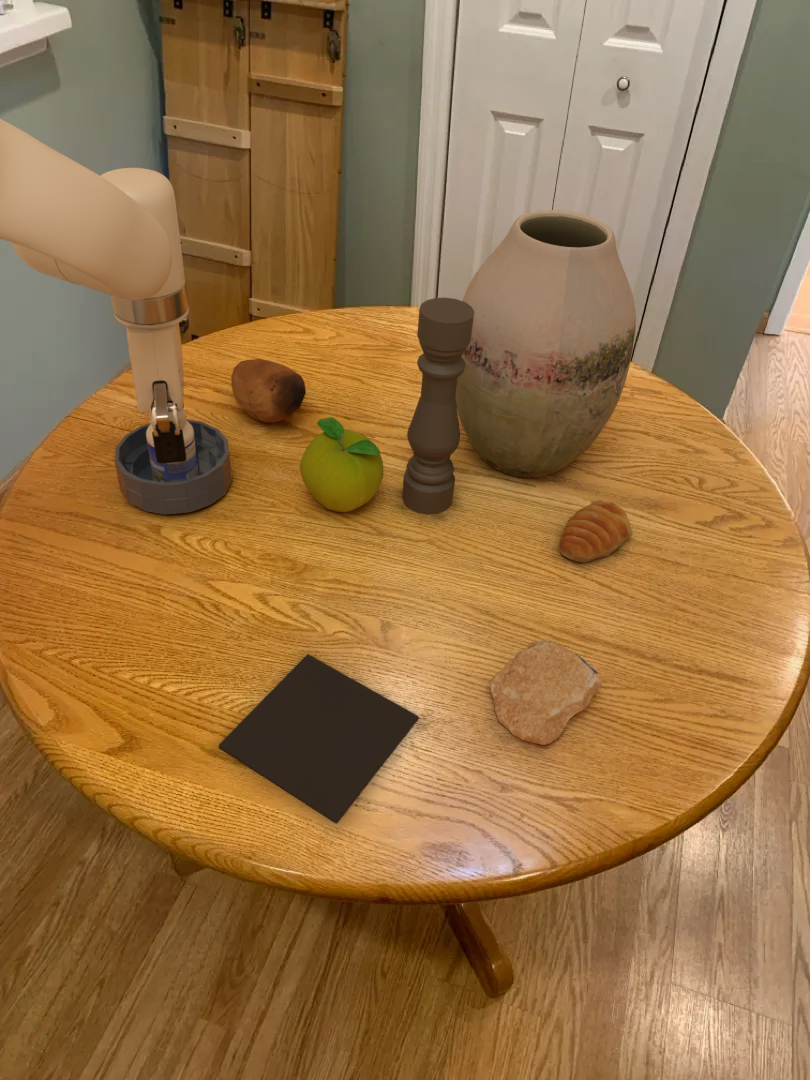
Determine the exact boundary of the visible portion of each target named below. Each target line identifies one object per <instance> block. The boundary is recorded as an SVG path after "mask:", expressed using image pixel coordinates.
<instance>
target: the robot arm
mask: <svg viewBox="0 0 810 1080" xmlns="http://www.w3.org/2000/svg"><path fill="white" fill-rule="evenodd" d="M178 219H179V218H178V210H177V202H176V195H175V190H174V187H173V185H172V182H171V181H170V180H169V178H167V177H166V176H165V175H164V174H162V173H160V172H158V171H157V170H153V169H149V168H143V167H123V168H117V169H113V170H110V171H106V172H104V173H102V174H101V175H99V174H98V173H96V172H95V171H93V170H91V169H90V168H88V167H86V166H84V165H82V164H80V163H79V162H77V161H75V160H73V159H72V158H70V157H68V156H66V155H64V154H63V153H61V152H59V151H57V150H56V149H53V148H52V147H50V146H49V145H47V144H45V143H43V142H42V141H40V140H38V139H37V138H35V137H34V136H32V135H30V134H29V133H27V132H26V131H24V130H22V129H20V128H18V127H17V126H15V125H13V124H12V123H9V122H7V121H6V120H3V119H2V118H0V240H3V241H6V242H9V243H11V244H12V247H13V249H14V251H15V253H16V254H17V256H18V257H19V258H20V260H22V261H23V262H24V263H25V264H26V265H27V266H29V267H30V268H31V269H33V270H34V271H37V272H39V273H41V274H43V275H46V276H48V277H52V278H55V279H58V280H61V281H65V282H68V283H70V284H74V285H78V286H82V287H85V288H88V289H91V290H94V291H98V292H100V293H104V294H105V295H106V294H107V295H109V296H110V300H111V304H112V309H113V316H114V318H115V320H116V322H118V323H120V324H121V325H123V326H125V327H126V328H125V329H126V339H127V349H128V355H129V361H130V368H131V374H132V381H133V386H134V393H135V400H136V401H135V402H136V407H137V411H138V412H139V413H140V414H142V415H144V414H150V411H151V415H152V424H153V432H152V436H153V442H154V448H155V453H156V459H157V462H158V463H172V462H184V461H186V451H185V444H184V437H183V430H182V429H181V430H180V427H179V418H178V411H180V410H181V409H182V408H184V409H185V406H184V405H185V404H184V357H183V347H182V337H181V329H180V323H181V322H183V321H184V320H186V319H187V317H188V316H189V312H190V308H189V299H188V292H187V291H188V290H187V283H186V277H185V268H184V260H183V259H184V258H183V252H182V251H183V250H182V242H181V235H180V228H179V227H180V226H179V220H178ZM168 403H173V405H172V406H168ZM169 412H173V421H174V424H173V422H172V421H170V418H169Z"/></svg>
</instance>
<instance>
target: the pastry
mask: <svg viewBox="0 0 810 1080" xmlns="http://www.w3.org/2000/svg"><path fill="white" fill-rule="evenodd" d="M632 535H633V529H632V527H631V521H630V520H629V518H628V514H627V513H626V511H625V509H623V508H621V506H619V505H618V504H616V503H614V502H612V501H606V500H605V501H604V500H603V499H602V500H601V499H598V500H594V501H591V503H590V504H588V505H586V506H584V507H582V508H579V509H578V510H576V511H575V512H574V514H573V515H572V516H571V517H570V518H569V519H568V520H567V522H566V524H565V526H564V529H563V533H562V535H561V538H560V540H559V551H560V554H561V555H562V556H564V557H566V558H568V559H569V560H572V561H574V562H578V563H585V564H587V563H589V562H593V561H595V560H596V559H603V558H606V557H608V556H609V555H610V554H612V553H613V552H615V551H616V550H617V549H619V547H621V546H622V545H623V544H624V543H625V541H627V540H628V539H630V537H632Z"/></svg>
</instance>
